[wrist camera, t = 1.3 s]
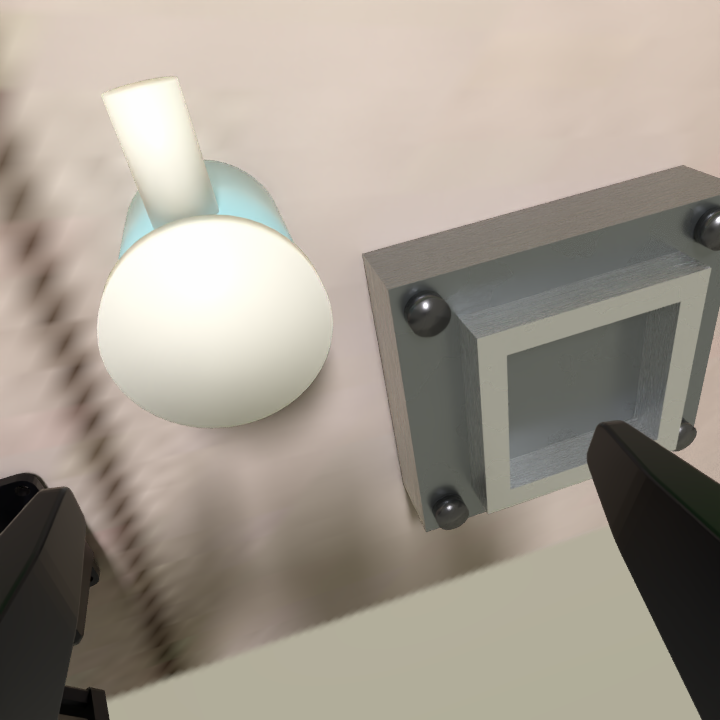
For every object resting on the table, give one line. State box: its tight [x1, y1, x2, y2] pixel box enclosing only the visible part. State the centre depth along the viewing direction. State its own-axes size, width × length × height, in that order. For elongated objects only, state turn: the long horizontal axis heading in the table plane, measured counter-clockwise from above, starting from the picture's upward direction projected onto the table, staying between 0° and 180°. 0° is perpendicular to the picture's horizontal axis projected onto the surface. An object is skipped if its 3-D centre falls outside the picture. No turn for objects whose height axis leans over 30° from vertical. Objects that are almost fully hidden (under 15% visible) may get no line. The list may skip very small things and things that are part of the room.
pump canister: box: [97, 76, 333, 428], centre depth 16 cm, size 5×8×7 cm
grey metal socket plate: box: [363, 165, 720, 532], centre depth 24 cm, size 13×12×4 cm
